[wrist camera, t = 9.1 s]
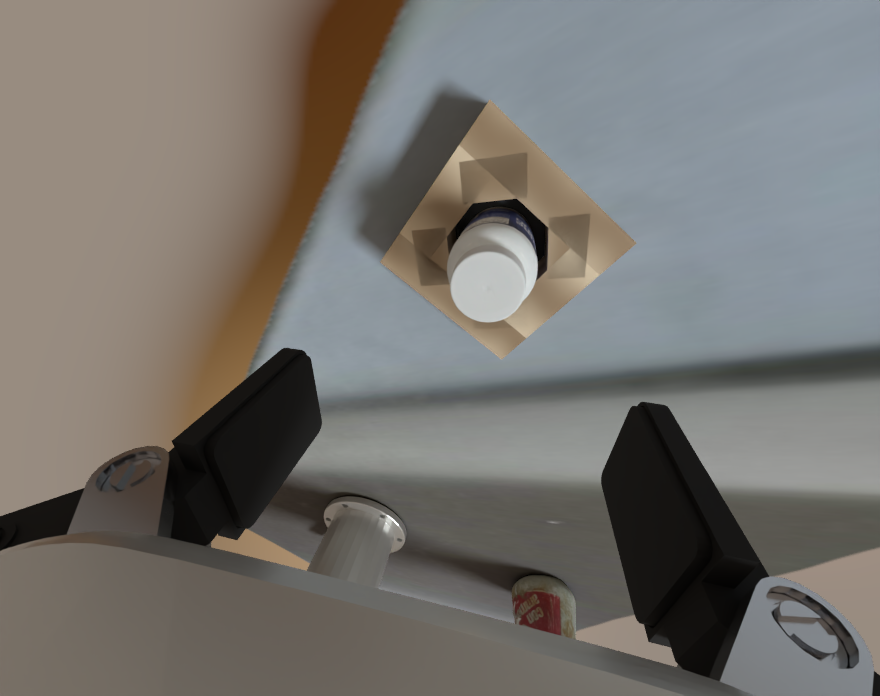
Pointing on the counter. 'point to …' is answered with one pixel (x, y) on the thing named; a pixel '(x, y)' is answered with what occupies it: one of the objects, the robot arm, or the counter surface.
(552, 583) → the bottle
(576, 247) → the collar
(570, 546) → the counter surface
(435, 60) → the counter surface
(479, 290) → the pill bottle
